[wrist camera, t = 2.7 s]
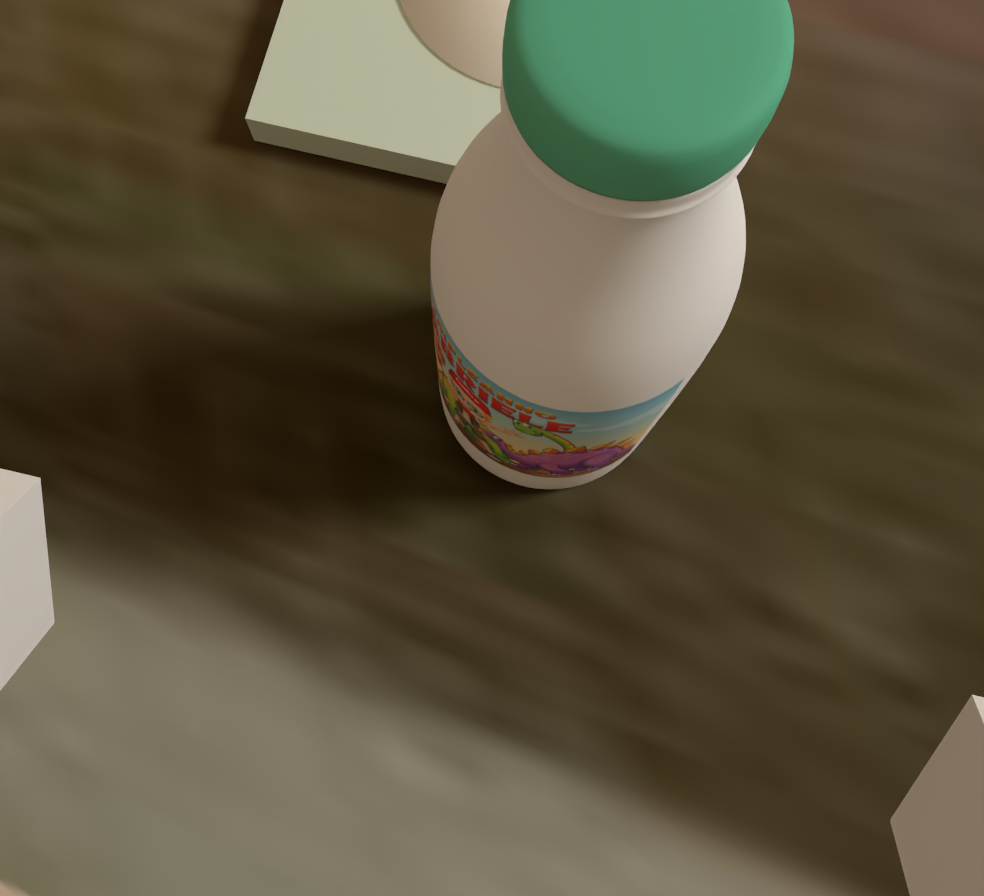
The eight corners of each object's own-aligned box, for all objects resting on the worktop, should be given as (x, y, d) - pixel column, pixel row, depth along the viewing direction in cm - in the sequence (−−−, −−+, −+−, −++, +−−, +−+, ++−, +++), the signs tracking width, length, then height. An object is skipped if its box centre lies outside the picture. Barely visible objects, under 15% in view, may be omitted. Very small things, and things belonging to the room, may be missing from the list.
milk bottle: (515, 250, 35) (576, -265, 15) (691, 360, 34) (989, -37, 15) (397, 417, 33) (300, 76, 14) (579, 535, 33) (747, 351, 13)
